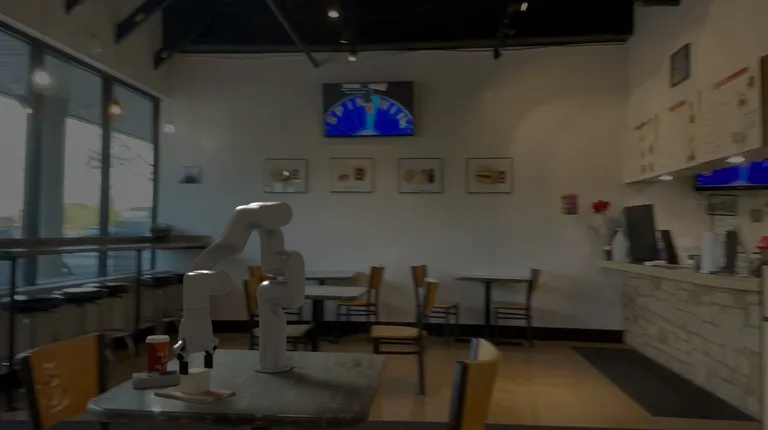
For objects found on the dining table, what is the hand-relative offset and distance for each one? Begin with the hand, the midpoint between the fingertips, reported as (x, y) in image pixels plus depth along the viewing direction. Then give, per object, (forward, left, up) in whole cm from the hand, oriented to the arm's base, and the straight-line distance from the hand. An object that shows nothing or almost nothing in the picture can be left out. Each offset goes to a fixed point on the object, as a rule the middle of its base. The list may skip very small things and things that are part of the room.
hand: (196, 371), depth 190 cm
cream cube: (0, 0, -6) cm, 6 cm away
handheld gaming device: (-4, -21, -7) cm, 23 cm away
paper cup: (-9, -27, -7) cm, 29 cm away
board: (0, 0, -7) cm, 7 cm away
